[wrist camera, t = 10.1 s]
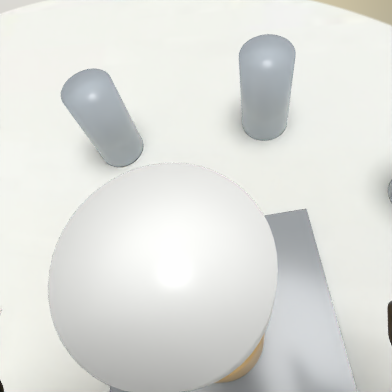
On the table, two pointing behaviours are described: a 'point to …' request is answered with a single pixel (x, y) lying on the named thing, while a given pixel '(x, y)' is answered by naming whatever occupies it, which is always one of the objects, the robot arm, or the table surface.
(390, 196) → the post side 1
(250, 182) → the table surface
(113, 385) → the vial
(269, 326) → the tile
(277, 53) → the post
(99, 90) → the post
